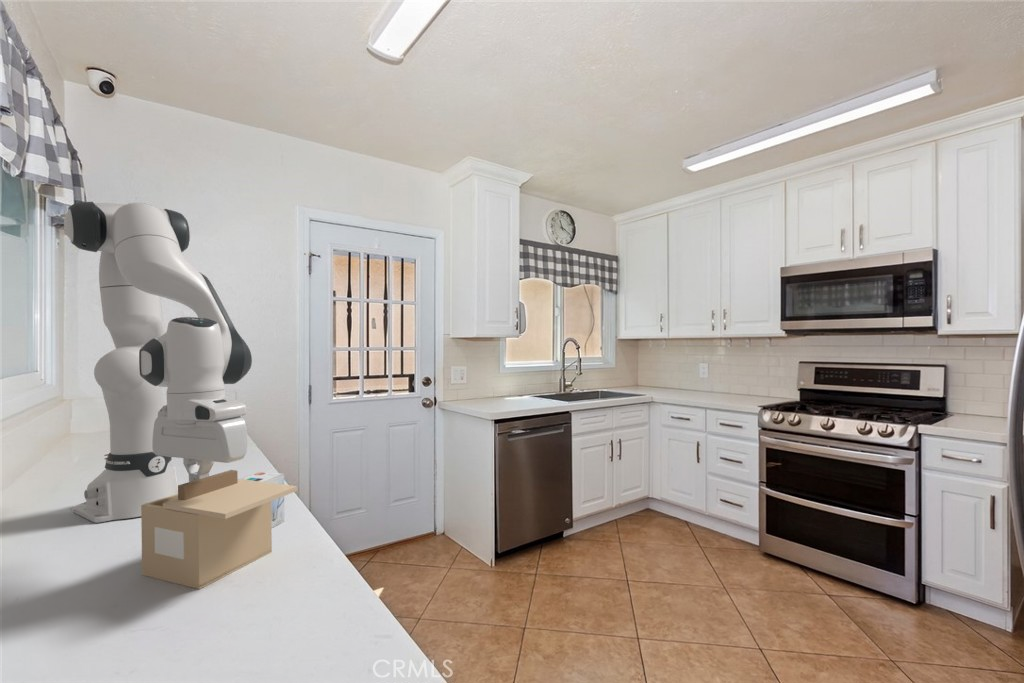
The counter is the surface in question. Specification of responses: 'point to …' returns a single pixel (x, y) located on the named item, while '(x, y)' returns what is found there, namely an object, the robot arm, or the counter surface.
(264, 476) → the light bulb box
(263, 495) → the carton lid
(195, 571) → the carton
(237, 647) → the counter surface
